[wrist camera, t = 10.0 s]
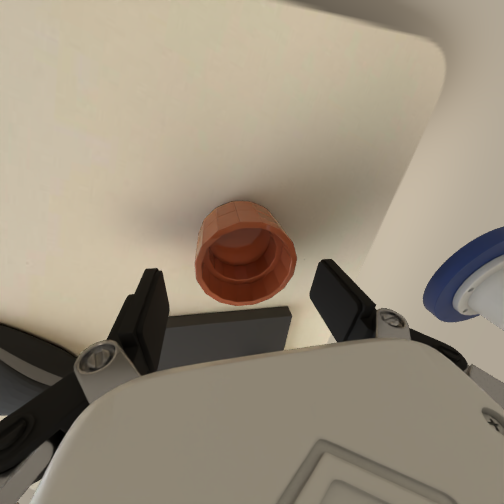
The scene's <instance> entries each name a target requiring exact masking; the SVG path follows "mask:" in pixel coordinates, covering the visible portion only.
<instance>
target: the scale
mask: <svg viewBox="0 0 504 504" xmlns="http://www.w3.org/2000/svg"><path fill="white" fill-rule="evenodd" d="M291 318H292V314H291V312H290V310H289V308H288V307H278V308H266V309H255V310H243V311H232V312H221V313H209V314H198V315H187V316H175V317H168V321H167V326H166V331H165V336H164V340H163V345H162V350H161V355H160V360H159V365H158V369H157V371H162V370H166V369H171V368H176V367H181V366H187V365H193V364H199V363H205V362H211V361H217V360H224V359H230V358H237V357H243V356H250V355H256V354H263V353H270V352H277V351H283V350H284V346H285V342H286V338H287V334H288V330H289V326H290V322H291Z"/></svg>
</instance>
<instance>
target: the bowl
mask: <svg viewBox="0 0 504 504" xmlns="http://www.w3.org/2000/svg"><path fill="white" fill-rule="evenodd" d="M296 261H297V256H296V252H295V248H294V244H293V242H292V240H291V239H290V238H289V236H288V235H287V234H286V232H285V231H284V230H283V228H282V227H281V226H280V224H279V223H278V221H277V220H276V219H275V218H274V216H273V215H272V214H271V213H270V212H269V211H268V210H267V209H266V208H265V207H262V206H260V205H258V204H256V203H253V202H250V201H232V202H229V203H227V204H224V205H221V206H219V207H217V208H215V209H214V210H213V211H212V212H211V213H210V214H209V215H208V216H207V217H206V218H205V219H204V221H203V223H202V226H201V228H200V231H199V233H198V241H197V249H196V257H195V271H196V279H197V281H198V283H199V284H200V286H201V287H202V289H203V290H204V292H205V293H206V294H207V295H209V296H210V297H212V298H213V299H215V300H217V301H218V302H220V303H225V304H230V305H234V306H242V305H253V304H257V303H259V302H262V301H265V300H267V299H270V298H272V297H273V296H274V295H276V294H277V293H278V292H280V291H281V290H282V289H284V287H285V286H286V285H287V283H288V282H289V280H290V279H291V277H292V276H293V274H294V270H295V266H296Z"/></svg>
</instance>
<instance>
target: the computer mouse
mask: <svg viewBox="0 0 504 504" xmlns="http://www.w3.org/2000/svg"><path fill="white" fill-rule="evenodd" d="M75 361H76V358H75V357H73V356H72V355H70V354H69V353H67V352H66V351H64V350H62V349H60V348H58V347H56V346H53V345H51V344H49V343H47V342H45V341H42V340H40V339H37V338H35V337H33V336H30V335H28V334H25V333H23V332H20V331H18V330H15V329H12V328H9V327H6V326H3V325H0V415H10V414H11V413H13V412H14V411H16V410H17V409H19V408H20V407H22V406H23V405H24V404H26V403H27V402H29V401H30V400H32V399H33V398H35V397H36V396H38V395H39V394H40V393H42V392H43V391H45V390H46V389H48V388H49V387H51V386H52V385H54V384H55V383H56V382H58V381H59V380H61V379H62V378H64V377H65V376H67V375H68V374H70V373H71V372H73V371H74V364H75Z"/></svg>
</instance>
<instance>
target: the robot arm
mask: <svg viewBox="0 0 504 504" xmlns="http://www.w3.org/2000/svg"><path fill="white" fill-rule="evenodd" d="M310 299H311V300H312V302H313V304H314V305H315V307H316V309H317V310H318V312H319V314H320V315H321V317H322V318H323V320H324V322H325V323H326V325H327V327H328V328H329V330H330V332H331V333H332V335H333V336H334V338H335V340H336V341H337V343H331V344H324V345H317V346H310V347H304V348H297V349H290V350H283V351H277V352H270V353H263V354H256V355H250V356H243V357H237V358H230V359H224V360H217V361H211V362H205V363H199V364H193V365H187V366H181V367H176V368H171V369H166V370H162V371H157V369H158V365H159V360H160V355H161V350H162V345H163V340H164V336H165V331H166V326H167V321H168V316H169V302H168V297H167V292H166V287H165V282H164V278H163V273H162V271H159V270H158V268H152V269H145V271H144V273H143V276H142V278H141V280H140V283H139V285H138V287H137V289H136V292H135V294H131V295H128V296H127V298H126V300H125V302H124V304H123V306H122V308H121V310H120V313H119V315H118V317H117V319H116V321H115V323H114V325H113V327H112V329H111V332H110V334H109V336H108V338H107V340H103V341H100V342H97V343H95V344H93V345H91V346H89V347H88V348H86V349H85V350H84V351H83V352H82V353H81V354H80V355H79V356H78V358H77V359H76V361H75V364H74V371H73V372H71V373H70V374H68V375H67V376H65V377H64V378H62V379H61V380H59V381H58V382H56V383H55V384H54V385H52V386H51V387H49V388H48V389H46V390H45V391H43V392H42V393H40V394H39V395H38V396H36V397H35V398H33V399H32V400H30V401H29V402H27V403H26V404H24V405H23V406H22V407H20V408H19V409H17V410H16V411H14V412H13V413H11V414H10V415H8V416H7V417H5V418H4V419H3V420H1V421H0V504H19V503H18V502H17V501H18V500H19V499H20V497H21V496H22V495H23V494H24V492H25V491H26V490H27V489H28V488H29V487H30V485H32V484H33V483H35V482H37V481H39V480H40V479H41V481H40V483H39V485H38V487H37V489H36V491H35V493H34V495H33V497H32V499H31V501H30V504H504V383H503V382H501V381H499V380H498V379H496V378H494V377H493V376H491V375H489V374H488V373H486V372H484V371H483V370H481V369H479V368H478V367H476V366H474V365H473V364H471V365H470V366H469V365H468V364H467V362H466V360H465V358H464V357H463V356H462V355H461V354H460V353H459V352H458V351H457V350H455V349H454V348H453V347H451V346H449V345H447V344H445V343H443V342H441V341H438V340H436V339H434V338H431V337H429V336H426V335H424V334H422V333H420V332H417V331H415V330H413V329H410V328H409V325H408V323H407V321H406V320H405V318H403V317H402V316H401V315H400V314H398V313H397V312H395V311H393V310H390V309H387V308H381V309H378V310H376V309H375V306H376V304H375V303H374V302H373V301H371V299H370V298H369V297H368V296H367V295H366V294H365V293H364V292H363V291H362V290H361V289H360V288H359V287H358V286H357V285H356V284H355V283H354V281H353V280H352V279H351V278H350V277H349V276H348V275H347V274H346V273H345V272H344V271H343V270H342V269H341V268H340V267H339V266H338V265H337V264H336V263H335V262H334V261H333V260H332V259H323V260H321V262H319V263H318V266H317V270H316V273H315V277H314V280H313V283H312V287H311V290H310ZM452 303H453V307H454V309H455V310H457V311H458V312H459V313H461V314H463V315H476V314H480V315H481V316H483V317H484V318H486V319H487V320H489V321H490V322H492V323H493V324H495V325H496V326H497V327H499V328H500V329H502V330H503V331H504V254H503V255H501V256H499V257H497V258H495V259H493V260H491V261H489V262H488V263H486V264H484V265H483V266H482V267H480V268H479V269H477V270H476V271H475V272H474V273H473V274H471V275H470V276H469V277H468V278H467V279H466V280H465V281H464V282H463V283H462V285H461V286H460V287H459V288H458V290H457V291H456V293H455V295H454V297H453V302H452Z"/></svg>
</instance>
